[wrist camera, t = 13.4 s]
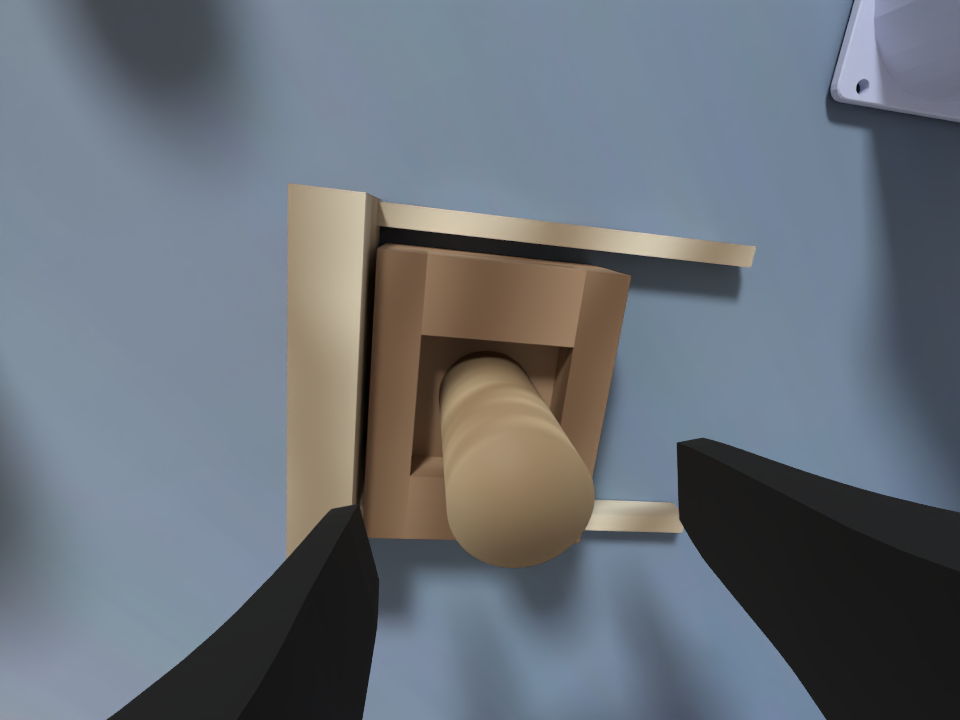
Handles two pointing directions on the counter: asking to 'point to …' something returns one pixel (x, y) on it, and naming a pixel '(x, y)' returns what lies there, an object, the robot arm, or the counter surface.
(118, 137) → the counter surface
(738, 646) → the counter surface
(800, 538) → the robot arm
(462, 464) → the oak dowel
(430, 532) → the walnut block
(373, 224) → the birch rail and backstop
